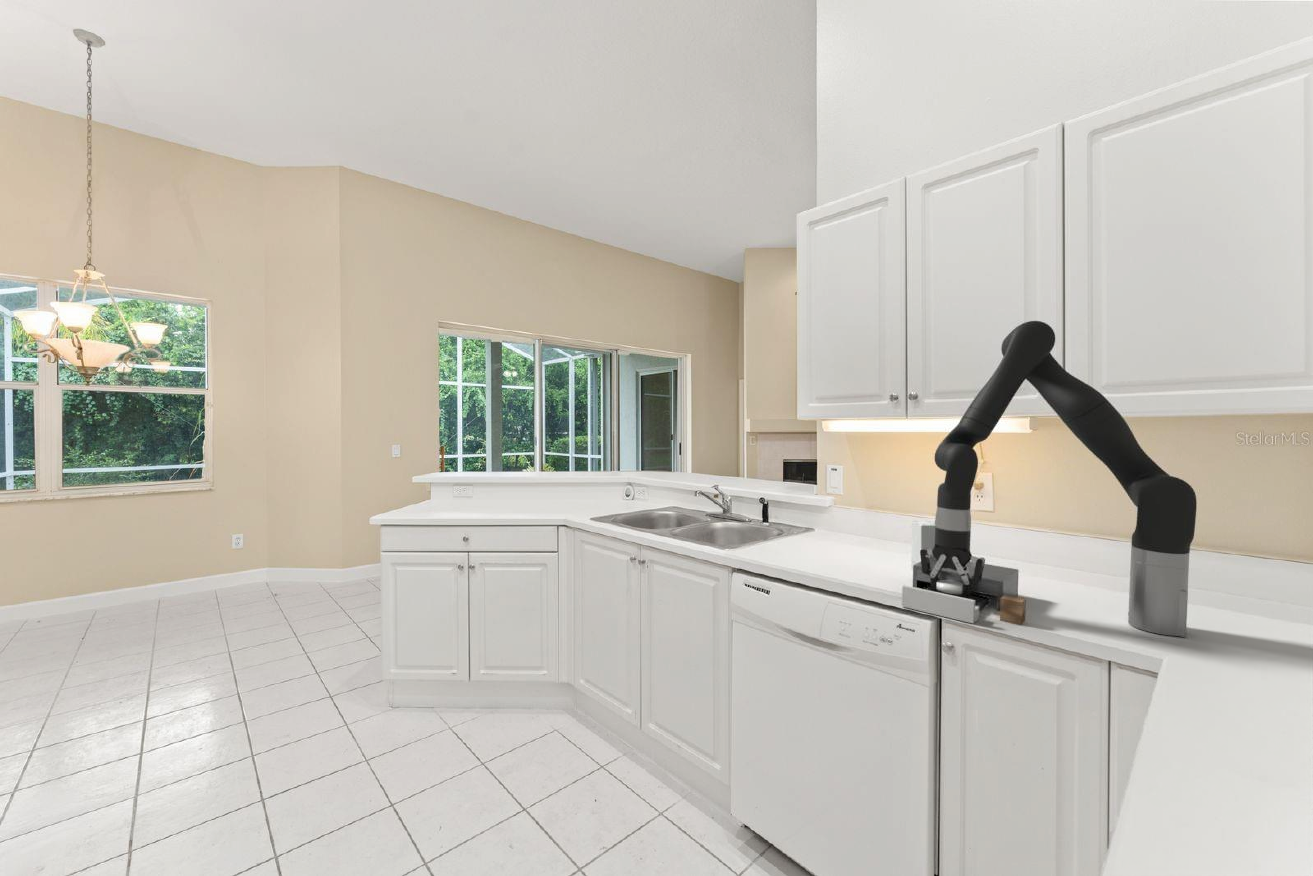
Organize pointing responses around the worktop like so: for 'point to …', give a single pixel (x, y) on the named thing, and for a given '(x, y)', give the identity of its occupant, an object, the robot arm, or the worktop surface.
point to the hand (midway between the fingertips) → (950, 595)
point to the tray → (944, 603)
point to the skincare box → (921, 539)
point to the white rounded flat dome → (949, 586)
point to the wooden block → (1012, 609)
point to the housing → (991, 582)
